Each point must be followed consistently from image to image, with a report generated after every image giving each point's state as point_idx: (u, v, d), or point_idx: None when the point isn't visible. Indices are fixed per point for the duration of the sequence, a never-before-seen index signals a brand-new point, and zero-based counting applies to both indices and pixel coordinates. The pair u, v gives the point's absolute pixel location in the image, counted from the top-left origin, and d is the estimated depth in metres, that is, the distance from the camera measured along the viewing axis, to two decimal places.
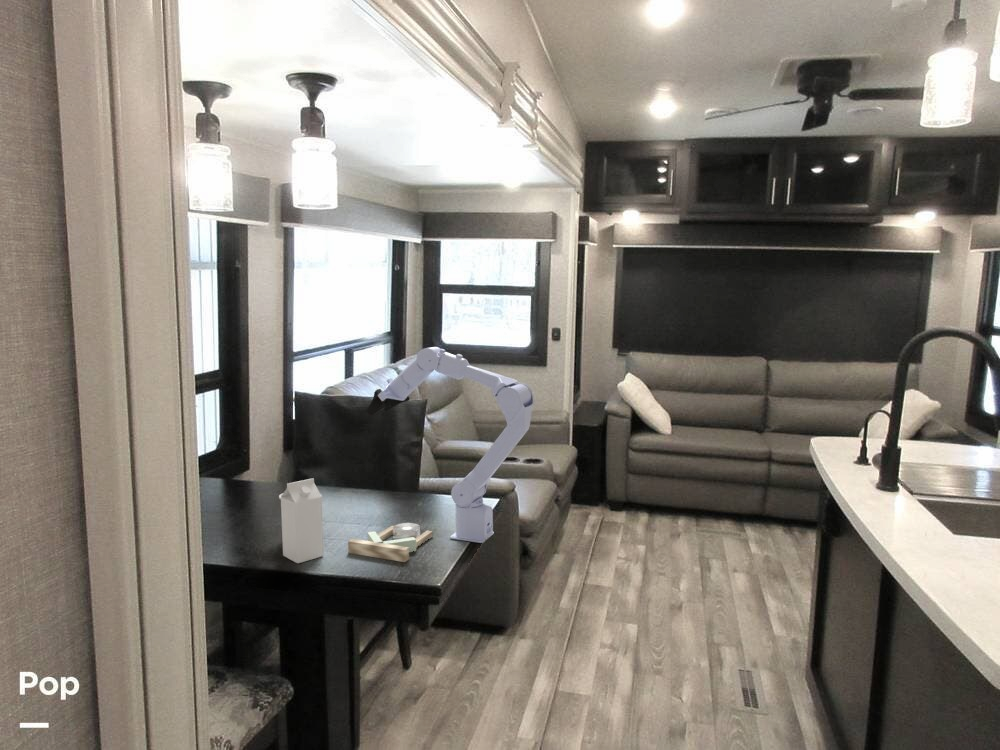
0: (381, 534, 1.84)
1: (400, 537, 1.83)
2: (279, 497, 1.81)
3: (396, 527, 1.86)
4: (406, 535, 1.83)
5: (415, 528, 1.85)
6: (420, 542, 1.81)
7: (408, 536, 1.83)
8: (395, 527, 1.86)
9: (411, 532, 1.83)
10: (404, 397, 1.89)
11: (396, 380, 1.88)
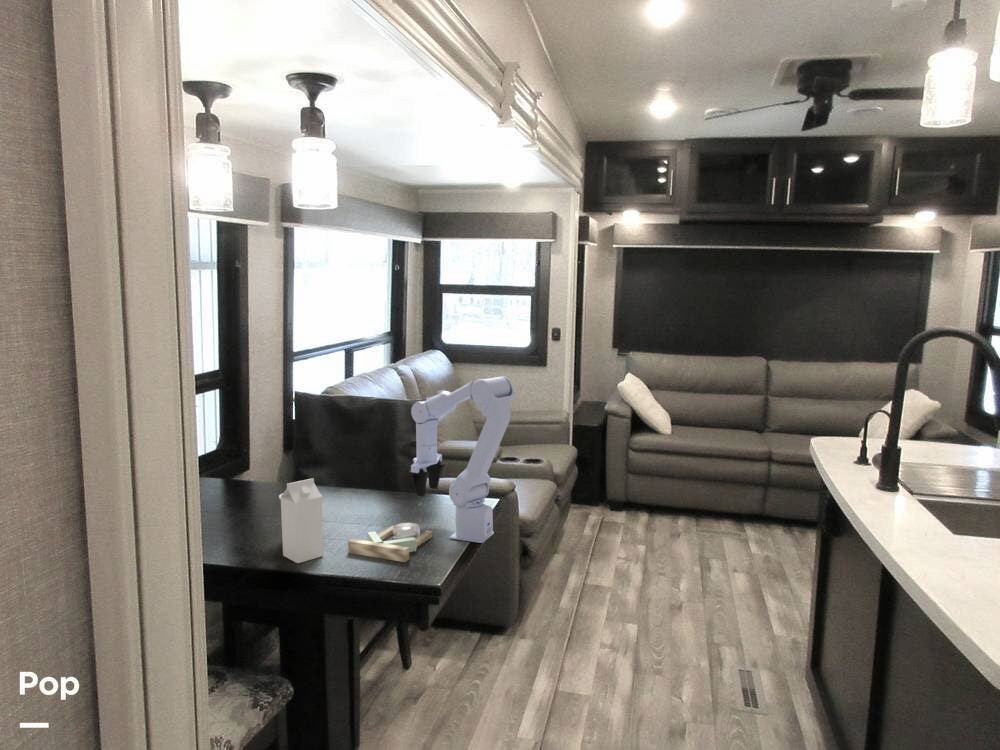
0: (381, 534, 1.84)
1: (400, 537, 1.83)
2: (279, 497, 1.81)
3: (396, 527, 1.86)
4: (406, 535, 1.83)
5: (415, 528, 1.85)
6: (420, 542, 1.81)
7: (408, 536, 1.83)
8: (395, 527, 1.86)
9: (411, 532, 1.83)
10: (435, 459, 1.94)
11: (417, 451, 1.93)
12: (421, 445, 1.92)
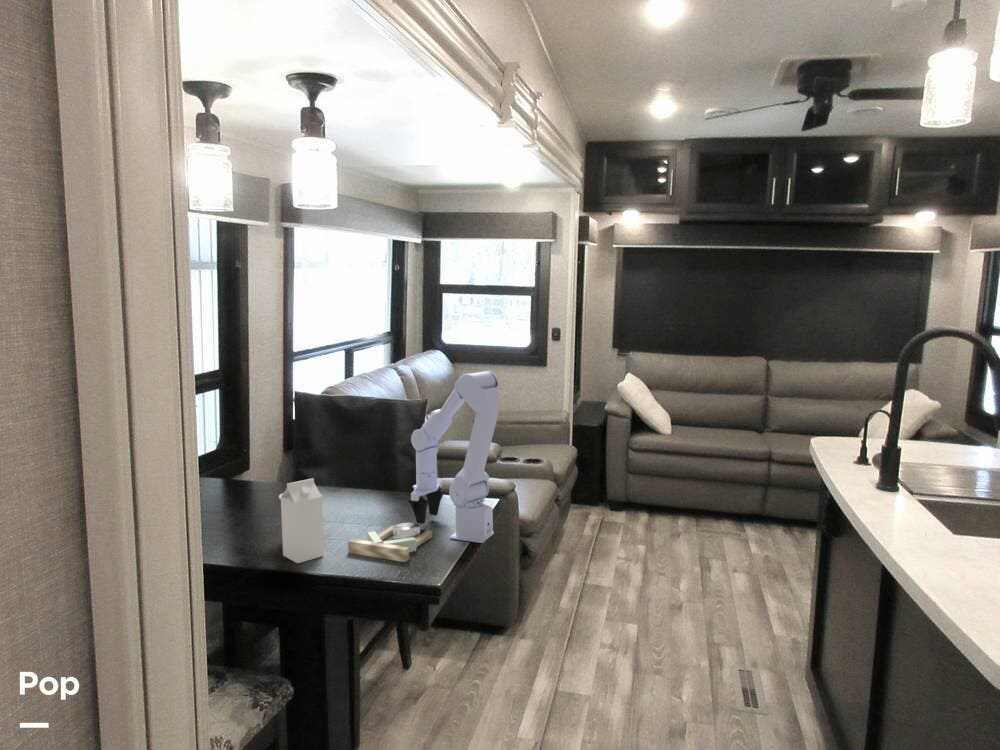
0: (381, 534, 1.84)
1: (400, 537, 1.83)
2: (279, 497, 1.81)
3: (396, 527, 1.86)
4: (406, 535, 1.83)
5: (415, 528, 1.85)
6: (420, 542, 1.81)
7: (408, 536, 1.83)
8: (395, 527, 1.86)
9: (411, 532, 1.83)
10: (434, 487, 1.94)
11: (417, 479, 1.94)
12: (421, 473, 1.93)
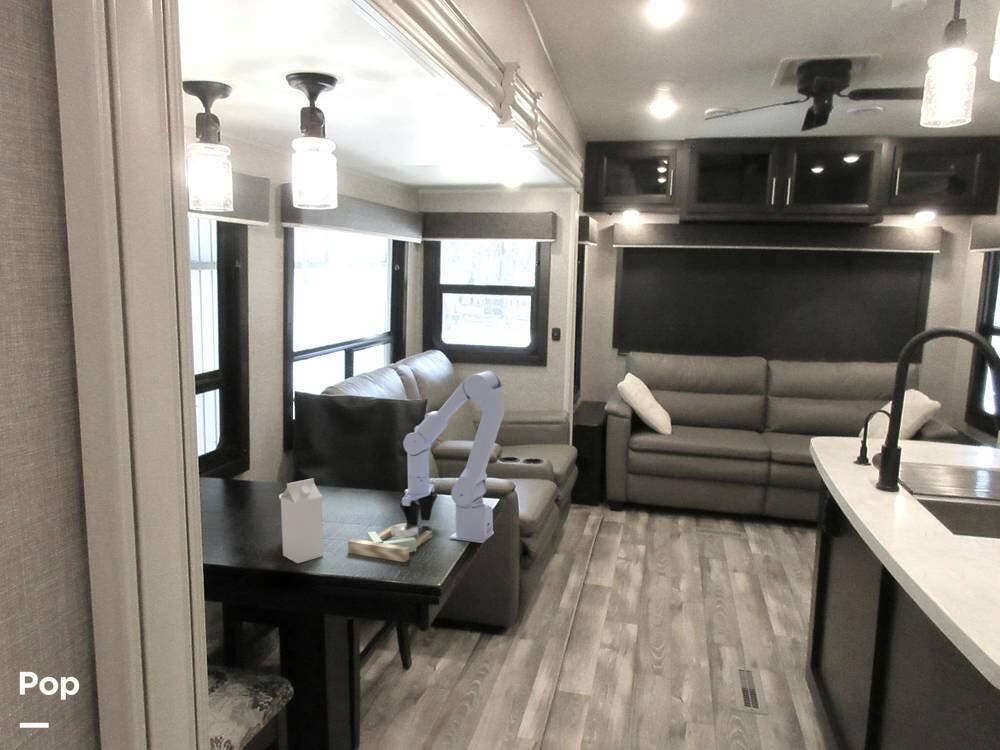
0: (381, 534, 1.84)
1: (398, 538, 1.82)
2: (279, 497, 1.81)
3: (394, 527, 1.85)
4: (405, 535, 1.82)
5: (413, 528, 1.84)
6: (420, 542, 1.81)
7: (406, 536, 1.82)
8: (393, 527, 1.85)
9: (410, 532, 1.82)
10: (426, 491, 1.90)
11: (409, 483, 1.90)
12: (412, 477, 1.88)
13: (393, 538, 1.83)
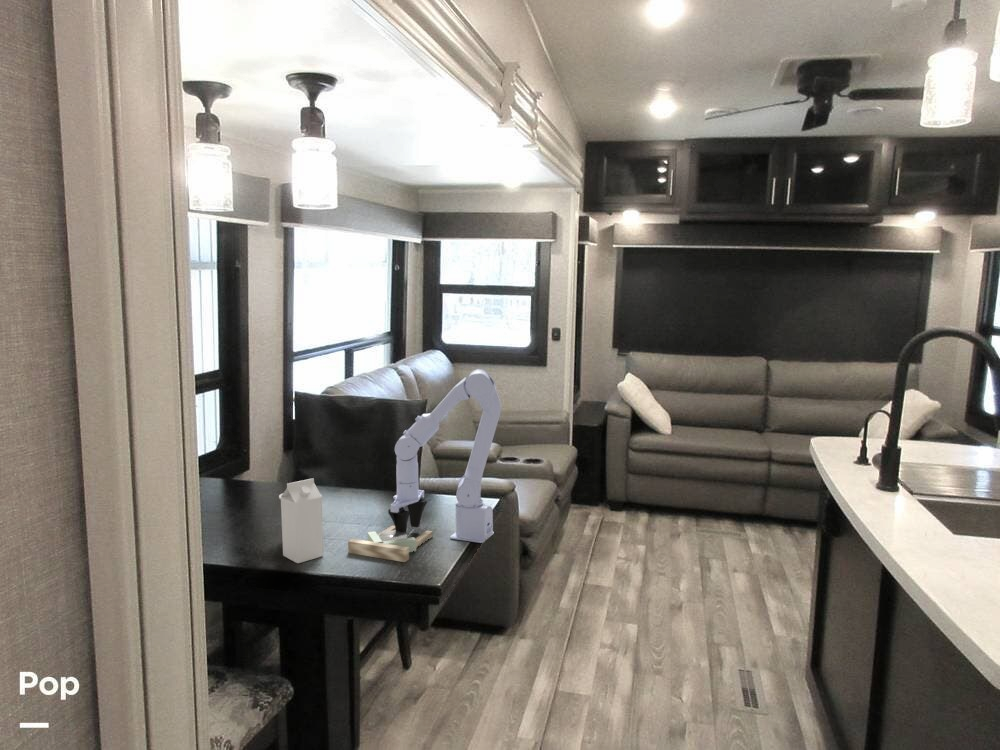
0: None
1: None
2: (279, 497, 1.81)
3: (382, 535, 1.79)
4: None
5: (402, 536, 1.79)
6: (420, 542, 1.81)
7: None
8: (381, 535, 1.79)
9: None
10: (416, 497, 1.84)
11: (397, 489, 1.84)
12: (401, 483, 1.83)
13: None
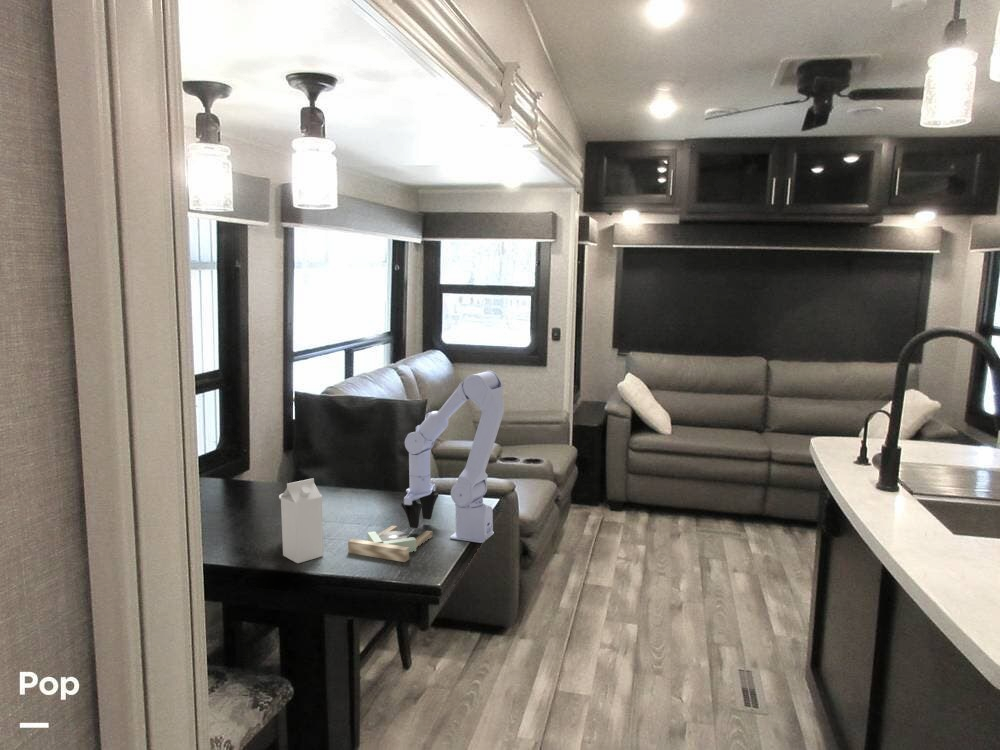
0: None
1: None
2: (279, 497, 1.81)
3: (382, 536, 1.79)
4: None
5: (402, 537, 1.79)
6: (420, 542, 1.81)
7: None
8: (381, 536, 1.79)
9: None
10: (428, 490, 1.91)
11: (410, 482, 1.90)
12: (414, 476, 1.89)
13: None
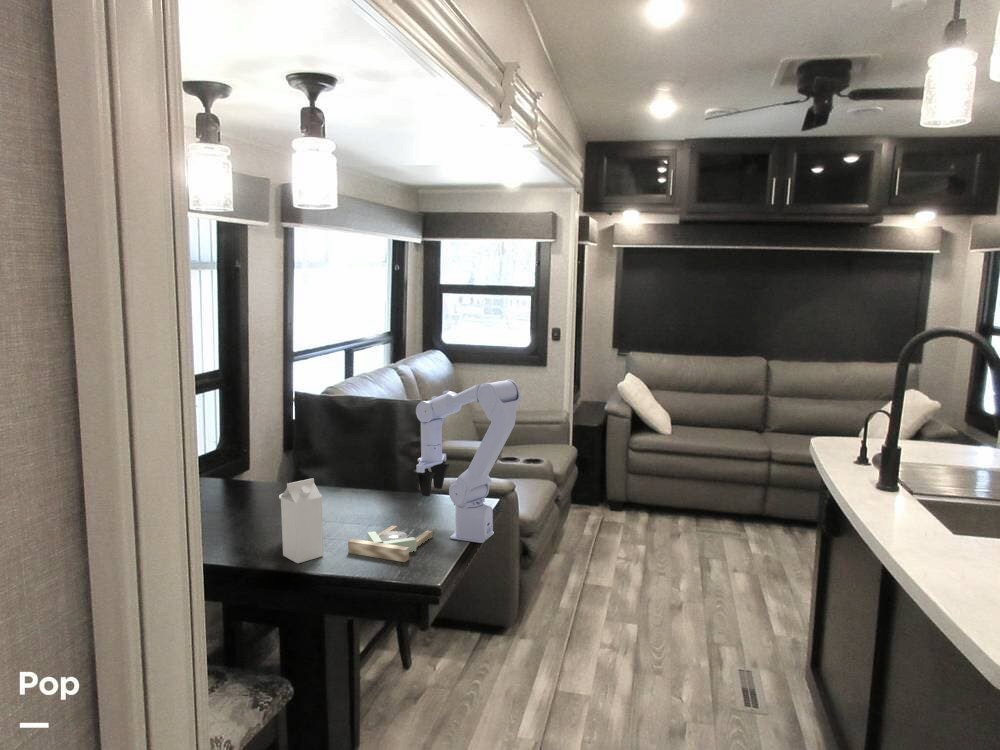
0: None
1: None
2: (279, 497, 1.81)
3: (382, 536, 1.79)
4: None
5: (402, 537, 1.79)
6: (420, 542, 1.81)
7: None
8: (381, 536, 1.79)
9: None
10: (440, 459, 1.92)
11: (422, 451, 1.92)
12: (426, 445, 1.91)
13: None
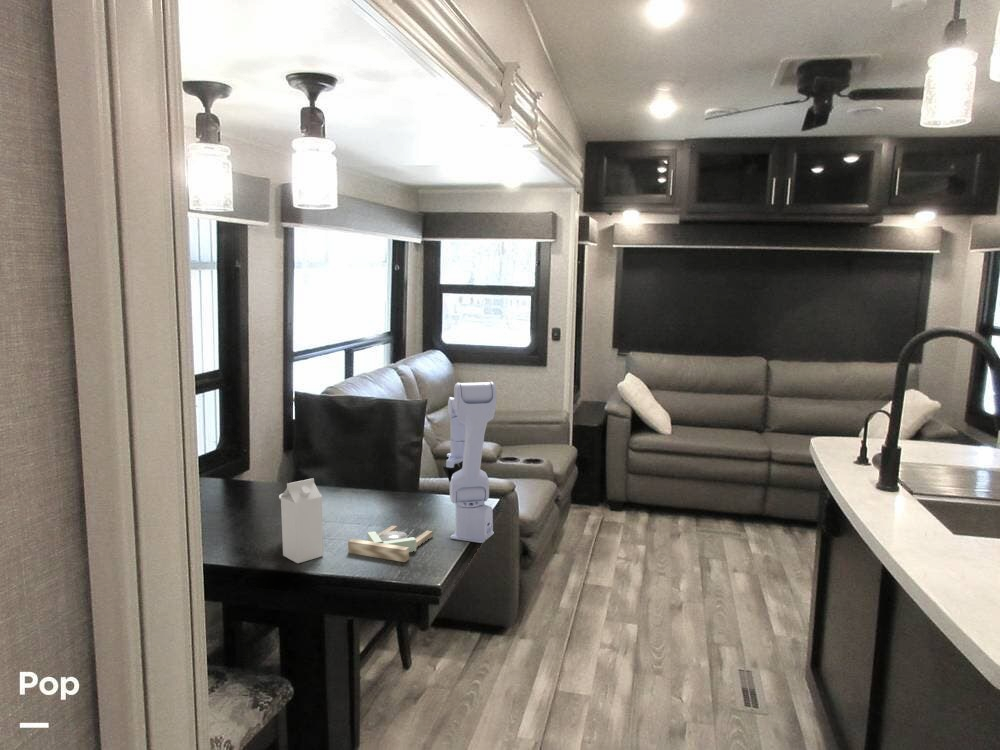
0: None
1: None
2: (279, 497, 1.81)
3: (382, 536, 1.79)
4: None
5: (402, 537, 1.79)
6: (420, 542, 1.81)
7: None
8: (381, 536, 1.79)
9: None
10: None
11: (451, 447, 1.97)
12: (455, 440, 1.96)
13: None
